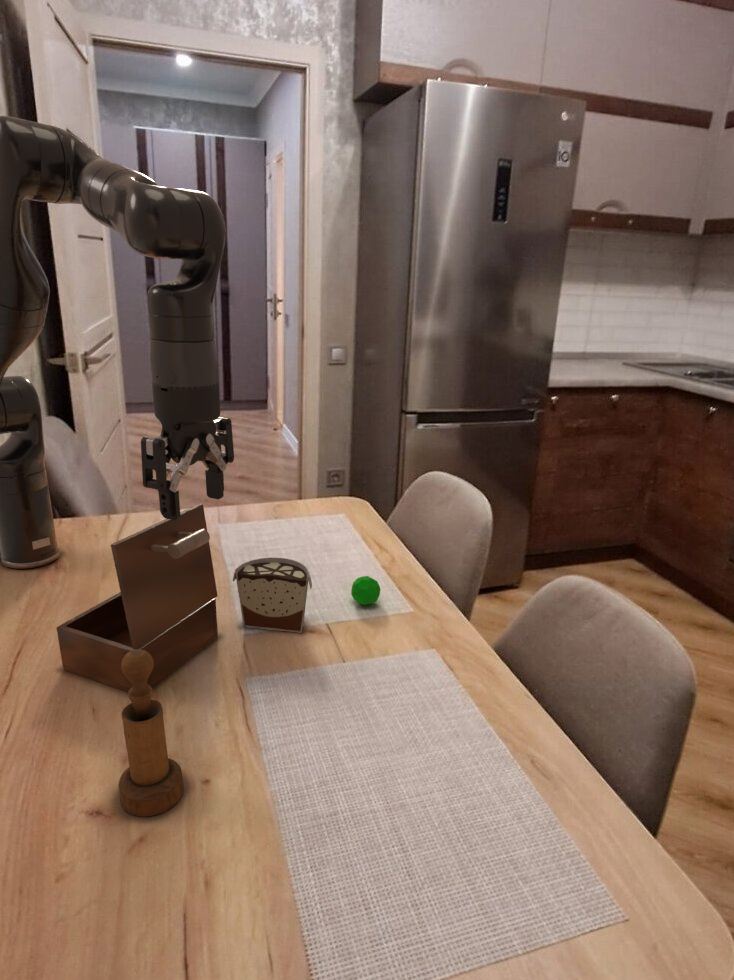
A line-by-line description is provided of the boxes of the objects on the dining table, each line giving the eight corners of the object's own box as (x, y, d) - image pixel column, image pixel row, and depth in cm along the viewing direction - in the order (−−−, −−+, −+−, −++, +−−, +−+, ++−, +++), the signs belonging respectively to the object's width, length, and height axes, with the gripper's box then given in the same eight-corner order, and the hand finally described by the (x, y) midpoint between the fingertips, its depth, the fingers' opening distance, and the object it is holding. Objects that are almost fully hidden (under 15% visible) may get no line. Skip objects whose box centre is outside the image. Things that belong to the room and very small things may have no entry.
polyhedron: (356, 611, 112) (357, 586, 110) (346, 598, 116) (347, 573, 114) (384, 607, 114) (385, 582, 112) (373, 594, 118) (374, 570, 116)
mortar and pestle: (112, 787, 73) (92, 646, 66) (171, 764, 77) (157, 628, 70) (131, 826, 68) (111, 679, 61) (193, 800, 72) (180, 658, 65)
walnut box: (63, 669, 93) (56, 627, 90) (147, 616, 107) (143, 578, 104) (140, 696, 88) (135, 652, 85) (218, 637, 102) (215, 598, 100)
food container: (319, 614, 110) (319, 559, 107) (311, 633, 105) (311, 576, 101) (246, 607, 111) (244, 552, 107) (234, 626, 106) (231, 569, 102)
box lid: (110, 544, 80) (146, 548, 78) (198, 503, 95) (231, 506, 93) (132, 649, 85) (167, 656, 83) (213, 595, 100) (244, 600, 98)
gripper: (198, 367, 85) (205, 487, 92) (115, 383, 73) (129, 520, 79) (247, 374, 83) (251, 496, 89) (170, 391, 71) (180, 532, 77)
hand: (194, 507), depth 84 cm, fingers open, 8 cm apart
